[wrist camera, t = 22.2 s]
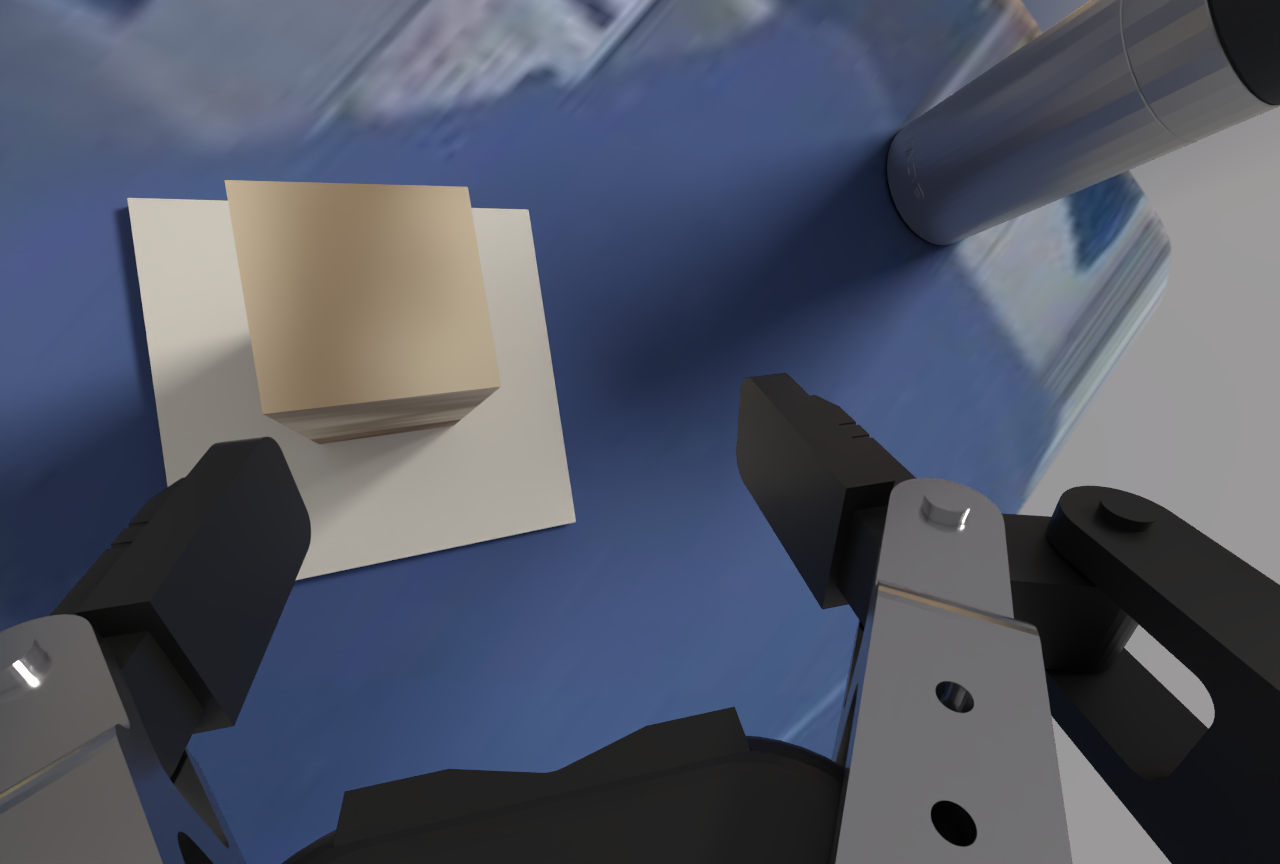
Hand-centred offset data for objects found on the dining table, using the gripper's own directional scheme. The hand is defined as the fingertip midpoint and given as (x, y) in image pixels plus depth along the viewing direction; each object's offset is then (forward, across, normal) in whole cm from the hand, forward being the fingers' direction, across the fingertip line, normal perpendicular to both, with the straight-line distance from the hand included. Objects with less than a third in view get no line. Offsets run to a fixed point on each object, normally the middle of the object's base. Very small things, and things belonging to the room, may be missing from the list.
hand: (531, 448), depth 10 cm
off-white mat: (+17, -7, -6) cm, 19 cm away
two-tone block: (+7, -4, +1) cm, 8 cm away
